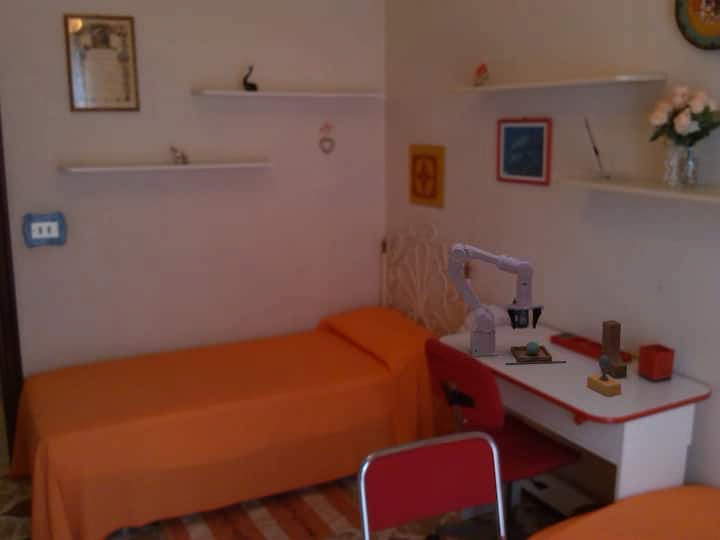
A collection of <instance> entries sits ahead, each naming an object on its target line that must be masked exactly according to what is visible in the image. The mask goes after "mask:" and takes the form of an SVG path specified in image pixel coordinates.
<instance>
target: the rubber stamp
mask: <svg viewBox="0 0 720 540" xmlns="http://www.w3.org/2000/svg"><path fill="white" fill-rule="evenodd" d="M598 359H599V360H598V365H599V369H600V371H601V373H597V374H592V375H587V378H586V379H587V381H586V386H587V387H588V388H590V389H591V390H594V391H595V392H598V393H600V394H601V395H604V396H605V397H612V396H617V395H621V394H622V392H621V391H622V383H621V382H620V381H617V380H615V379H613V378H612V377H609V376H607V373H606V372H607V369H608V367H609V365H610V359H609V357H608V356H606V355H603V356H602V355H601V356H599V358H598Z"/></svg>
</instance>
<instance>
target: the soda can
mask: <svg viewBox="0 0 720 540" xmlns="http://www.w3.org/2000/svg"><path fill="white" fill-rule="evenodd" d="M511 304H516V297H514V298H513V301H512V302H511ZM514 311H515V314H516V315H515V329H516V328H517V329H524V328H528V326H529V323H530V321H529V320H530V310H514Z"/></svg>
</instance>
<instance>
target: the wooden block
mask: <svg viewBox="0 0 720 540" xmlns="http://www.w3.org/2000/svg"><path fill="white" fill-rule="evenodd" d="M621 328H622V324H621V322H619V321H616V320H614V319H610V320H604V321H602V331H601V333H602V334H601V356H603V355H606V356H608V357H609V359H610V365H609V367H608V369H607V372H606V375H609V376H611V378H614V379H619V378H621V379H622V378H627V375H628V374H627V371H628V366H627V364H626V363H625V362H624V361H623V360H622V359H623V358H622V357H621V356H622V355H621V351H620V350H621V331H622V330H621Z"/></svg>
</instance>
